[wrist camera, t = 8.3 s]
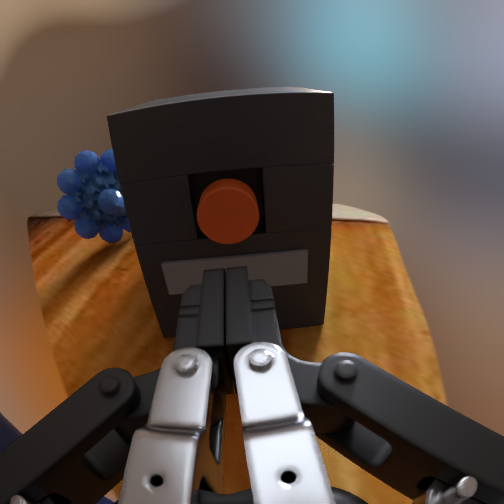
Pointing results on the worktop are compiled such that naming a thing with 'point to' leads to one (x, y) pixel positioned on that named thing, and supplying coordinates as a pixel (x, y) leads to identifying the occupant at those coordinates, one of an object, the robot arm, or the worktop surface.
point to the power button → (228, 211)
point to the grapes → (94, 197)
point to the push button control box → (240, 168)
